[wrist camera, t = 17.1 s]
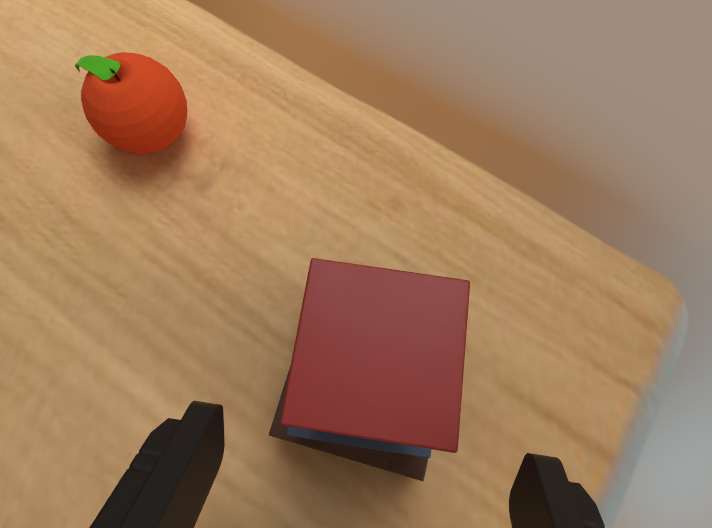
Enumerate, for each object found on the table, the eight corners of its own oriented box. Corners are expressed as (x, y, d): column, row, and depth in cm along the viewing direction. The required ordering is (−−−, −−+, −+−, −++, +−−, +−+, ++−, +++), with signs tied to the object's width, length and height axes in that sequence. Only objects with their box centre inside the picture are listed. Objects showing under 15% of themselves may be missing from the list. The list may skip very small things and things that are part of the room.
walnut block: (414, 472, 29) (423, 481, 25) (279, 432, 29) (268, 435, 26) (443, 335, 31) (456, 325, 28) (319, 301, 32) (315, 287, 28)
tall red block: (412, 434, 22) (458, 453, 12) (310, 418, 22) (278, 425, 13) (423, 332, 23) (470, 279, 14) (327, 318, 24) (311, 257, 14)
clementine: (83, 143, 36) (21, 82, 29) (135, 79, 38) (87, 7, 31) (168, 184, 35) (123, 130, 28) (216, 116, 37) (185, 50, 30)
